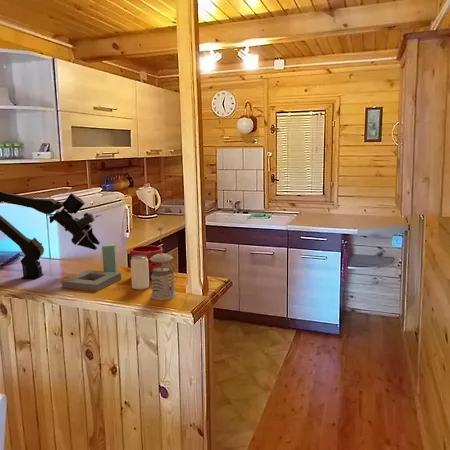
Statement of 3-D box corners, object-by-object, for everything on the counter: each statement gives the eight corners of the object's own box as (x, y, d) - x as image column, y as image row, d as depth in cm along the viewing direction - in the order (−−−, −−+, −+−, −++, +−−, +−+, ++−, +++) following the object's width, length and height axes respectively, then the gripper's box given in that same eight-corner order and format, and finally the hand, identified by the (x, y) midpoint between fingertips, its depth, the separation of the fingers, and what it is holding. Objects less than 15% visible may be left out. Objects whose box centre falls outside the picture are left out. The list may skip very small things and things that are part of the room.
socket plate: (62, 287, 169) (61, 281, 169) (87, 275, 184) (87, 269, 184) (97, 291, 164) (97, 284, 164) (121, 278, 179) (120, 272, 179)
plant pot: (160, 281, 175) (159, 251, 173) (127, 281, 176) (126, 251, 174) (166, 271, 188) (165, 244, 186) (136, 271, 189) (134, 244, 187)
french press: (164, 288, 166) (161, 223, 161) (186, 295, 158) (183, 226, 154) (143, 296, 158) (140, 227, 154) (166, 303, 151) (163, 231, 146)
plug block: (103, 274, 186) (101, 246, 184) (105, 270, 191) (103, 243, 189) (116, 273, 187) (114, 245, 184) (117, 270, 191) (115, 243, 189)
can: (147, 289, 165) (146, 258, 163) (130, 290, 165) (128, 259, 163) (150, 284, 171) (149, 254, 169) (133, 284, 171) (132, 254, 169)
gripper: (77, 211, 173) (108, 237, 177) (84, 204, 191) (112, 228, 195) (58, 231, 173) (89, 257, 177) (67, 223, 191) (95, 246, 195)
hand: (97, 246), depth 186 cm, fingers open, 9 cm apart
